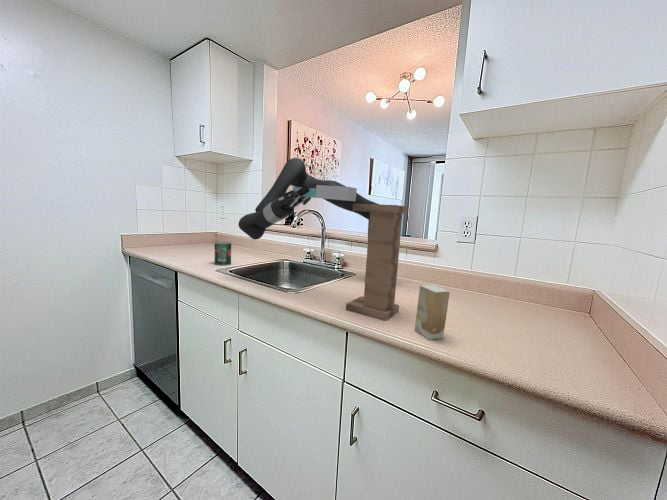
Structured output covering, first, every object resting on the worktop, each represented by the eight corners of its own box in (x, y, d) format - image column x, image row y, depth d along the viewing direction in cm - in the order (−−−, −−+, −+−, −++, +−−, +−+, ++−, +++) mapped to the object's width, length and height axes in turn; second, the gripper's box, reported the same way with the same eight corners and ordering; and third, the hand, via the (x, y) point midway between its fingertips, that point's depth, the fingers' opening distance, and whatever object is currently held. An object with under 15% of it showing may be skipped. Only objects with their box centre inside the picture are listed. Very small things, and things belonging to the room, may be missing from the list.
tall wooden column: (361, 301, 93) (368, 205, 88) (398, 311, 86) (408, 206, 82) (345, 309, 84) (352, 203, 80) (385, 320, 78) (396, 205, 73)
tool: (290, 195, 95) (291, 183, 95) (299, 196, 99) (300, 184, 99) (347, 200, 83) (348, 186, 82) (355, 201, 87) (356, 188, 86)
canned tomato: (212, 263, 140) (212, 241, 139) (227, 262, 146) (227, 241, 144) (217, 266, 135) (217, 243, 133) (233, 264, 140) (233, 243, 138)
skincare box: (413, 329, 72) (418, 284, 71) (427, 328, 74) (432, 283, 72) (430, 341, 67) (435, 291, 65) (444, 339, 68) (450, 290, 66)
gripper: (260, 199, 97) (294, 175, 88) (288, 201, 109) (320, 180, 99) (267, 219, 96) (301, 197, 87) (294, 219, 108) (327, 199, 98)
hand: (311, 188), depth 93 cm, fingers closed on tool, 3 cm apart
